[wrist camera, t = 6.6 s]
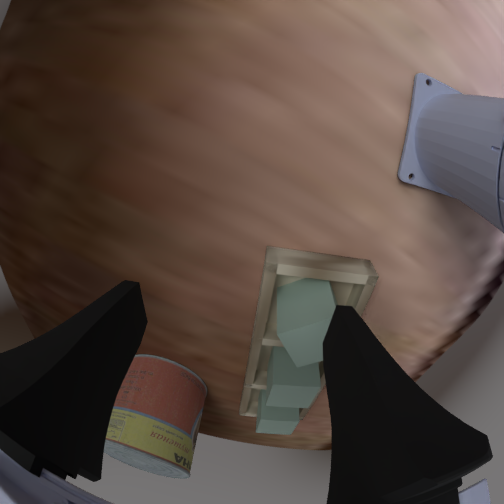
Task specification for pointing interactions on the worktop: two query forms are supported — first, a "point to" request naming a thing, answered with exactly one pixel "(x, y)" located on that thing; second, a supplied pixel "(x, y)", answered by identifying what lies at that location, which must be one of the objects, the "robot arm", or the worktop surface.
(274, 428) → the seated block
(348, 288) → the rack
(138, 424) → the canned food
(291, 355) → the loose block
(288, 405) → the seated block
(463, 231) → the worktop surface
